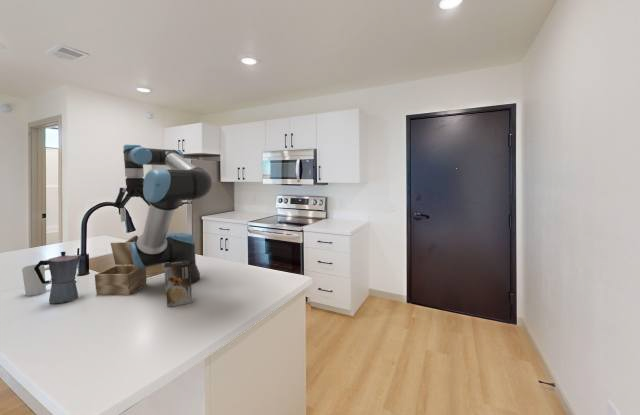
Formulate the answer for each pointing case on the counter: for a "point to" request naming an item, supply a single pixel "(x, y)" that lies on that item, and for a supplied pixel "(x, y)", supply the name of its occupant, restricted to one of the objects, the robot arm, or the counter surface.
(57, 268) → the moka pot
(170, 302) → the coffee box
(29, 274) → the mug
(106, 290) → the carton
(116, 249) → the flap
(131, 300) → the counter surface
